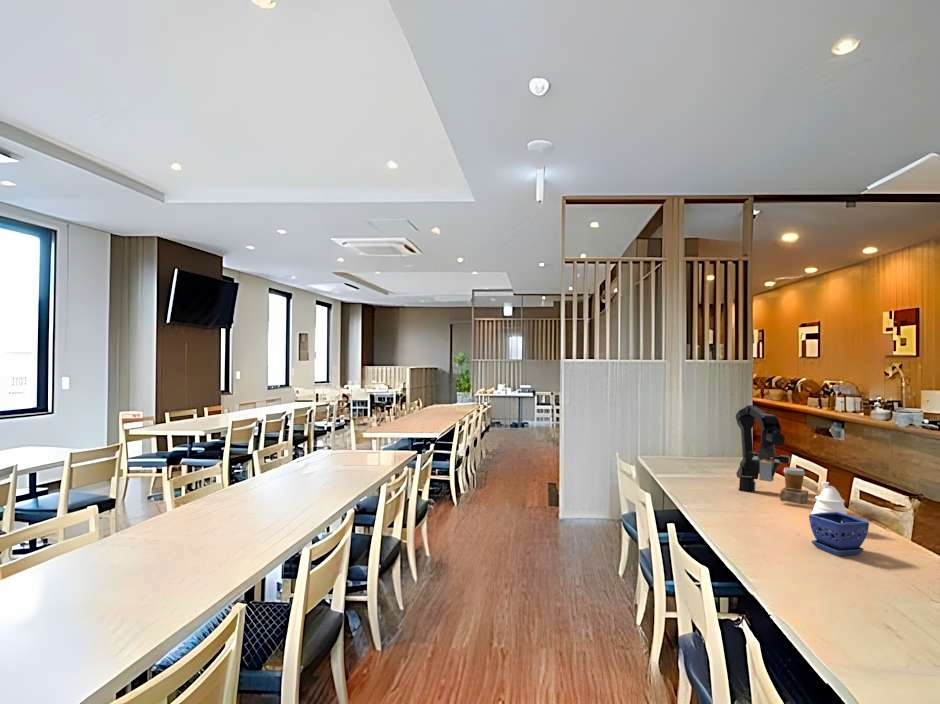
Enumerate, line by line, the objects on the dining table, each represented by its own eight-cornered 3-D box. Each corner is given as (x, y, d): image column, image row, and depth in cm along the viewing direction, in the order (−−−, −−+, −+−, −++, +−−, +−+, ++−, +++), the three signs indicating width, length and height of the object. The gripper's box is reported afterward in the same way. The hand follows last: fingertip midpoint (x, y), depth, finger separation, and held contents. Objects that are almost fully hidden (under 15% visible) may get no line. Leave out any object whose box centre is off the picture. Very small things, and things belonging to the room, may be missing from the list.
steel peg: (759, 479, 277) (760, 460, 277) (761, 478, 281) (762, 459, 281) (771, 481, 274) (771, 462, 274) (773, 479, 278) (774, 460, 278)
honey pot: (811, 529, 234) (812, 483, 234) (810, 521, 245) (811, 477, 245) (850, 535, 228) (851, 488, 228) (846, 526, 239) (848, 481, 239)
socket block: (780, 500, 280) (780, 490, 280) (784, 496, 288) (784, 487, 288) (804, 504, 274) (804, 494, 274) (808, 500, 282) (808, 490, 282)
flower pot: (838, 559, 200) (839, 523, 200) (806, 546, 213) (807, 512, 213) (869, 556, 204) (870, 521, 204) (836, 543, 217) (837, 511, 217)
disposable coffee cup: (804, 493, 297) (805, 468, 297) (803, 496, 289) (804, 472, 289) (783, 490, 302) (784, 466, 302) (781, 493, 294) (782, 469, 294)
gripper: (741, 441, 277) (740, 475, 277) (786, 446, 265) (785, 481, 265) (747, 439, 285) (746, 471, 286) (791, 443, 274) (790, 477, 274)
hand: (766, 475), depth 277 cm, fingers closed on steel peg, 5 cm apart
